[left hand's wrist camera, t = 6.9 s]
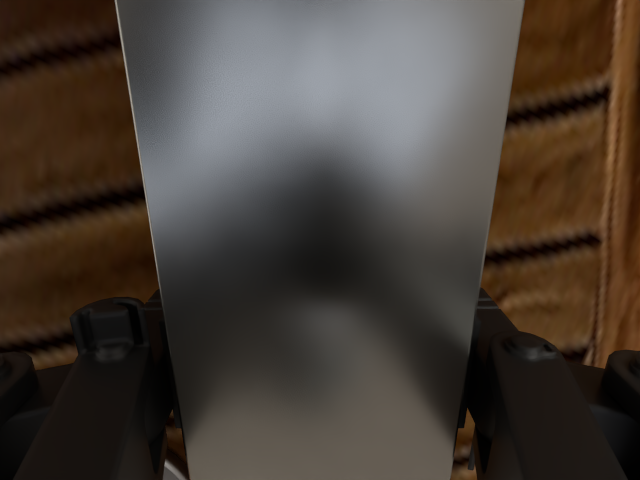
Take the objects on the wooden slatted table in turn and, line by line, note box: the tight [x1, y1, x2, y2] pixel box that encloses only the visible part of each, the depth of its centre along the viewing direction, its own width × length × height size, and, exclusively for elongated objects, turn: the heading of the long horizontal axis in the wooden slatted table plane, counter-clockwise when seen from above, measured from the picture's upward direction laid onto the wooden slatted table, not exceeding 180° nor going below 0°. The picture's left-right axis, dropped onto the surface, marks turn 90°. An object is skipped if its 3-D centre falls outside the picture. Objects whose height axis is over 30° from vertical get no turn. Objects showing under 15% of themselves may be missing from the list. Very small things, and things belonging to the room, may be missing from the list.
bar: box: [115, 0, 525, 480], centre depth 8 cm, size 21×5×8 cm, turn 0°
